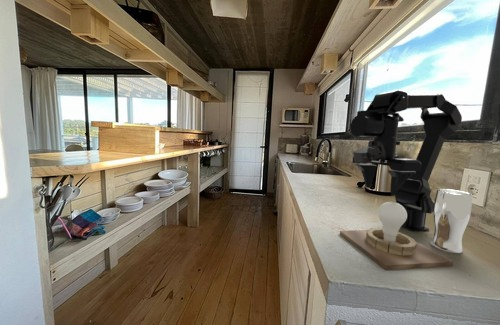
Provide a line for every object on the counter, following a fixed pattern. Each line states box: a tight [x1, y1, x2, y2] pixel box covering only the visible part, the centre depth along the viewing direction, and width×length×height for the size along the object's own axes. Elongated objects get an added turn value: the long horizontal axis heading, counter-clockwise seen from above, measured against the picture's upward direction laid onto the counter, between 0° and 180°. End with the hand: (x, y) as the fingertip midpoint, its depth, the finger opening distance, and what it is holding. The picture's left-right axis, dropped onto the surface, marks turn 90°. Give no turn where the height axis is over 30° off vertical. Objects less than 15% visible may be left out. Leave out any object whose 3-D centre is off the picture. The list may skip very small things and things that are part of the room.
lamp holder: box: [339, 227, 454, 271], centre depth 54 cm, size 17×17×3 cm
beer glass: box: [430, 188, 473, 254], centre depth 55 cm, size 7×7×15 cm
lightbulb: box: [377, 201, 407, 243], centre depth 54 cm, size 6×6×11 cm
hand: (379, 191), depth 62 cm, fingers open, 9 cm apart
